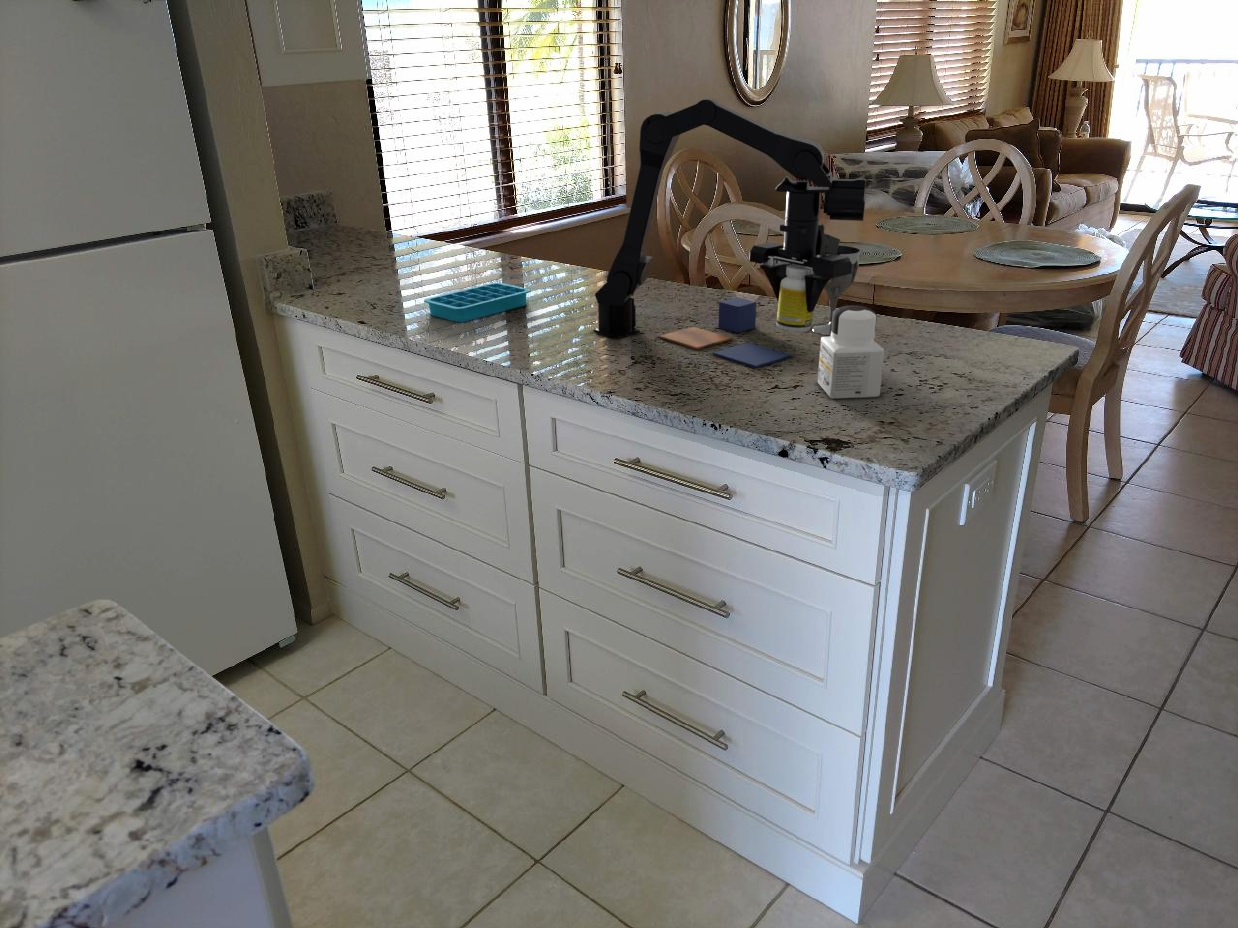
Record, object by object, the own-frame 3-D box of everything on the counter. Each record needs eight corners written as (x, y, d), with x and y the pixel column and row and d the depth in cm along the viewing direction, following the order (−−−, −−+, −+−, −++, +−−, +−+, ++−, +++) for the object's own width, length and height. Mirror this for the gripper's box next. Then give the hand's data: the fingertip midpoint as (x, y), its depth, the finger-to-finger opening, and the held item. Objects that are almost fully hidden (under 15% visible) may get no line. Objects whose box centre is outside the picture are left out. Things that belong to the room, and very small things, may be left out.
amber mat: (697, 349, 170) (697, 347, 170) (658, 337, 177) (658, 335, 177) (732, 339, 175) (732, 337, 175) (693, 328, 182) (693, 326, 182)
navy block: (737, 332, 179) (738, 306, 177) (718, 327, 183) (718, 301, 181) (755, 328, 182) (756, 302, 180) (736, 322, 186) (737, 297, 184)
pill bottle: (810, 334, 168) (817, 272, 164) (775, 331, 169) (781, 269, 165) (811, 324, 174) (818, 264, 169) (776, 321, 175) (783, 261, 170)
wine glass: (857, 326, 182) (864, 247, 176) (847, 337, 176) (855, 255, 169) (815, 322, 185) (821, 244, 179) (805, 333, 179) (810, 252, 173)
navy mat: (755, 368, 160) (755, 365, 160) (713, 354, 167) (713, 352, 167) (791, 357, 165) (791, 355, 165) (748, 344, 172) (748, 342, 172)
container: (816, 383, 153) (823, 303, 148) (864, 381, 153) (872, 301, 148) (830, 399, 146) (837, 316, 140) (880, 397, 146) (889, 314, 141)
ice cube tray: (422, 314, 194) (420, 300, 192) (497, 295, 207) (496, 281, 206) (459, 324, 187) (458, 309, 185) (534, 304, 200) (533, 290, 199)
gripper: (876, 220, 162) (867, 310, 168) (791, 207, 175) (785, 291, 181) (834, 228, 155) (826, 322, 162) (749, 214, 168) (745, 301, 175)
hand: (796, 308), depth 170 cm, fingers closed on pill bottle, 6 cm apart
